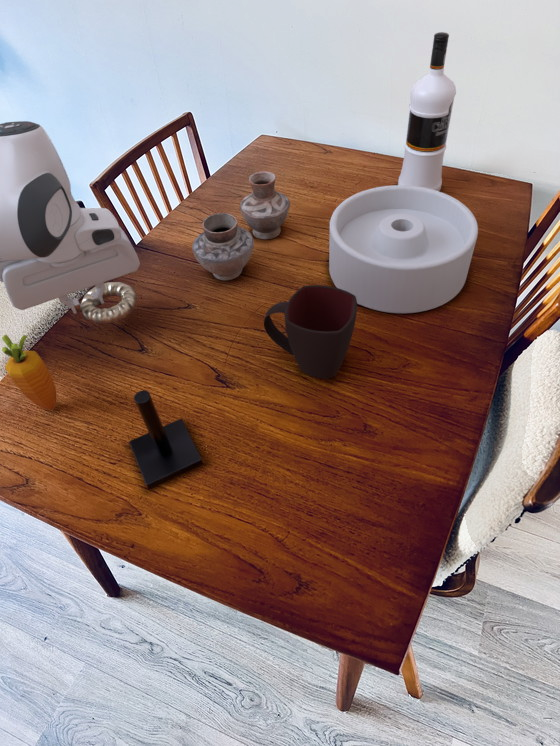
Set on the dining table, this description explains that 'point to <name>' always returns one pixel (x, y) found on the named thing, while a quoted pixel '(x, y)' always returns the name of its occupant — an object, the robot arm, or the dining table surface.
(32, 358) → the carrot
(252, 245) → the pottery
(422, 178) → the vodka
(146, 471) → the peg stand
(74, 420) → the dining table surface
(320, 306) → the cup
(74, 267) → the robot arm
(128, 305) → the ring
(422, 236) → the container
